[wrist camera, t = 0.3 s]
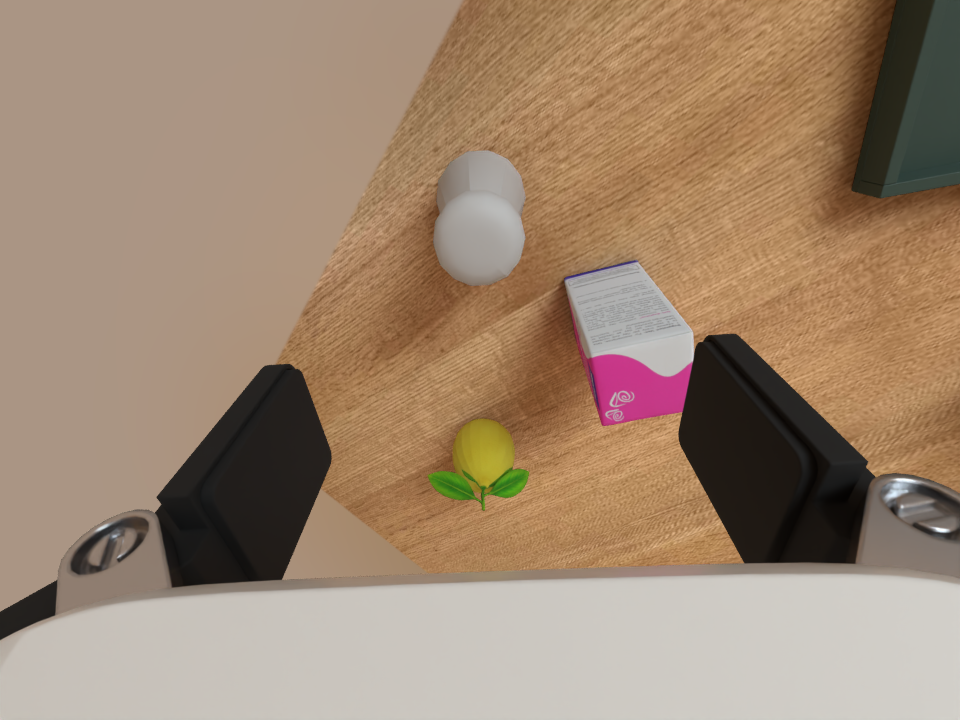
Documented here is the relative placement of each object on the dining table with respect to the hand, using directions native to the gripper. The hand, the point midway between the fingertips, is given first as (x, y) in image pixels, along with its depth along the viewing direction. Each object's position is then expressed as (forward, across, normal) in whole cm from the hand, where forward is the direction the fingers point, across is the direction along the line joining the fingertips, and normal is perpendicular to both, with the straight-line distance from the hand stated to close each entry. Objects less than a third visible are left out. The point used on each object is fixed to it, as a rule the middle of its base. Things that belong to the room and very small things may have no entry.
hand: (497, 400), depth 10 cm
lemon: (+24, +2, +21) cm, 32 cm away
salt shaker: (+24, +1, 0) cm, 24 cm away
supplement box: (+24, -8, +9) cm, 27 cm away
